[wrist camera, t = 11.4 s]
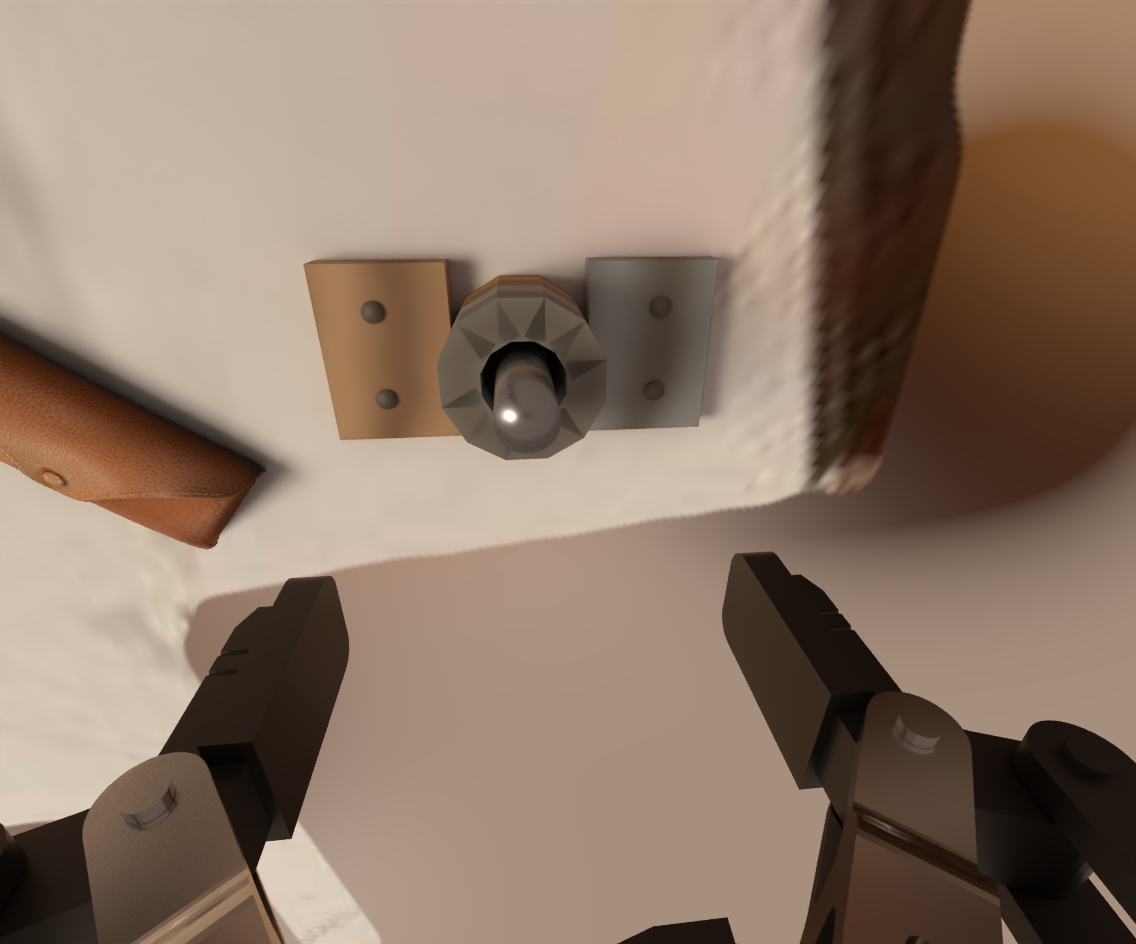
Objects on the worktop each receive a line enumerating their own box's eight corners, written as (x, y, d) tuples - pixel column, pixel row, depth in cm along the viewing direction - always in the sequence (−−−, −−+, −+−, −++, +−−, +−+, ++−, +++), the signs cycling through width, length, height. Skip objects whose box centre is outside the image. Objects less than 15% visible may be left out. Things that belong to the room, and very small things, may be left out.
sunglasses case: (-102, 416, 31) (-208, 405, 25) (-22, 315, 33) (-104, 282, 26) (218, 555, 38) (196, 574, 32) (275, 466, 39) (264, 468, 33)
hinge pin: (498, 369, 34) (494, 454, 23) (496, 323, 32) (490, 391, 22) (544, 368, 34) (561, 452, 23) (543, 322, 33) (561, 388, 22)
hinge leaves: (346, 430, 34) (311, 484, 28) (312, 260, 30) (261, 280, 24) (691, 417, 36) (729, 465, 30) (709, 256, 32) (758, 273, 26)
